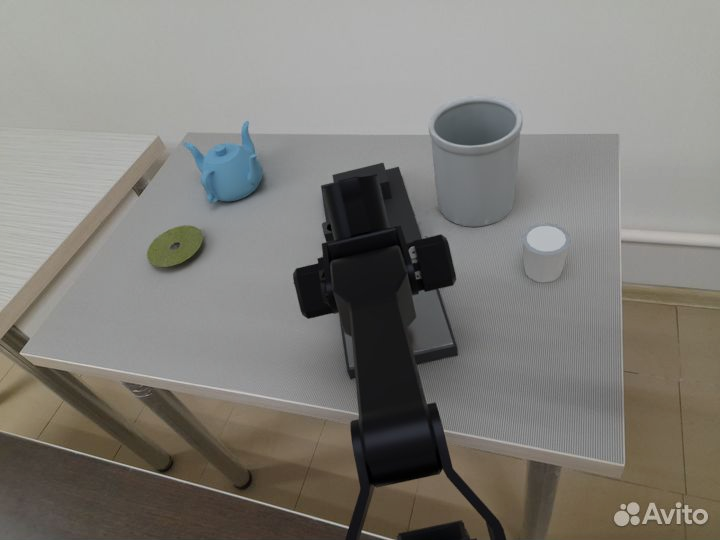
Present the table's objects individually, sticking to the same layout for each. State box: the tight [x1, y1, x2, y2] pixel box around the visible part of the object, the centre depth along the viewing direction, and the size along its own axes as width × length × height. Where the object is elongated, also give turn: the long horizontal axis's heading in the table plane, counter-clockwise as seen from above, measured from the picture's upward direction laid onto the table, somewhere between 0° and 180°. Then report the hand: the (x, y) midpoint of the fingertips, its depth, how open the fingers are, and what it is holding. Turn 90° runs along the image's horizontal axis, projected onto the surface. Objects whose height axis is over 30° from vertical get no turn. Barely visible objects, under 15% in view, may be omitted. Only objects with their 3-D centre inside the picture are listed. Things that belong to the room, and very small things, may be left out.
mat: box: [146, 225, 204, 268], centre depth 102 cm, size 11×11×2 cm
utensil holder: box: [428, 94, 524, 228], centre depth 90 cm, size 15×15×18 cm
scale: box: [320, 162, 459, 380], centre depth 89 cm, size 44×16×6 cm, turn 8°
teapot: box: [182, 120, 264, 204], centre depth 111 cm, size 15×15×10 cm
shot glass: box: [521, 222, 572, 284], centre depth 80 cm, size 7×7×7 cm
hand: (374, 274), depth 71 cm, fingers closed on cup, 7 cm apart
